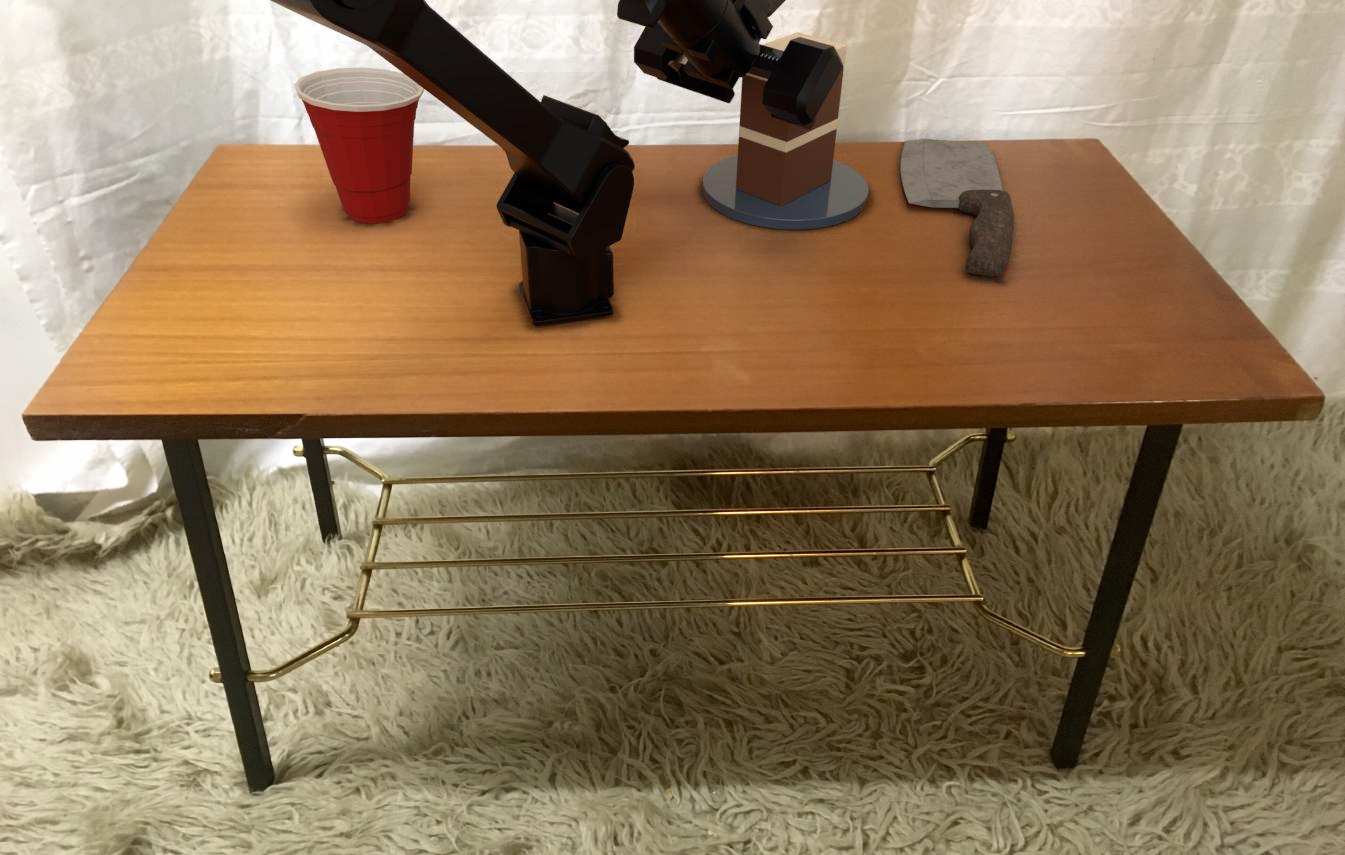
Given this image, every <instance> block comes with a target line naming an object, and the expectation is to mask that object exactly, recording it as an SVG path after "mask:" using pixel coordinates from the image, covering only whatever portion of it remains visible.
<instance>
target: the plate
mask: <svg viewBox="0 0 1345 855" xmlns="http://www.w3.org/2000/svg"><path fill="white" fill-rule="evenodd" d="M737 159H738V154H734V155H731V156H728V157H725V158H723V159H720V160H719V161H717V162H715V163H714V164H712V165H711V166H710V167H708V169H707V170H706V171H705V173H704V174H703V177H702V195H703V197H704V200H705V201H706V202H707V203H708V204H709V205H710V206H711V207H712V208H713V209H714V210H715V211H717V212H718V213H720V214H722V215H724V216H726V217H728V218H731V219H732V220H736V221H738V222H740V223H743V224H747V225H750V226H751V225H752V226H757V227H760V228H761V227H762V228H768V229H777V230H789V231H790V230H791V231H798V230H799V231H800V230H801V231H802V230H813V229H816V230H817V229H822V228H828V227H833V226H836V225H840V224H843V223H845V222H847V221H850V220H852V219H854V218H855V217H857V216H859V214H861V212H863V211H864V209H865V207H866V206H867V204H868V199H869V190H870V188H869V184H868V182H867V180H866V179H865V178H864V176H863V175H862V174H861V173H860V172H859V171H857V170H856V169H854V168H852V167H851V166H850V165H848V164H845V163H844V162H841V161H838V160H836V159H833V167H832V175H831V181H829V182H827V183H825V184H823V185H821V186H819V187H817V188H815V189H813V190H812V191H810V192H808V193H806V194H804V195H802V196H800V197H798V198H796V199H794V200H792V201H790V202H788V203H786V204H785V205H783V206H780V205H777V204H774V203H772V202H769V201H766V200H764V199H761V198H759V197H756V196H753V195H751V194H748V193H746V192H743V191H740V190H738V189H736V177H737Z"/></svg>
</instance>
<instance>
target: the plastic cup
mask: <svg viewBox="0 0 1345 855" xmlns="http://www.w3.org/2000/svg"><path fill="white" fill-rule="evenodd" d="M293 87H294V90H295V91H296V94H297V97H298V99H300V100H301V102H302V103H303V105H304V108H305V111H306V112H307V115H308V118H309V121H310V124H311V127H312V129H313V130H314V133H315V136H316V138H317V140H318V144H319V147H320V150H321V154H322V156H323V158H324V161H325V164H326V167H327V170H328V173H329V175H330V178H331V181H332V184H333V185H334V186H335V189H336V192H337V195H338V197H339V200H340V203H341V206H342V208H343V211H344V212H345V214H346V216H347V218H348V219H351V220H352V221H353V222H358V223H362V224H382V223H389V222H391V221H394V220H397V219H399V218H401V217H403V216H405V214H407V212H408V210H409V203H410V201H411V176H412V174H413V173H412V172H413V155H414V154H413V153H414V135H415V121H416V119H417V118H416V117H417V110H418V108H419V101H420V99H421V97H422V95H423V94H424V91H425V89H424V88H422V87H421V86H420V85H418V84H417V83H416V82H414V81H413V80H412V79H410V78H409V77H408V76H406V75H405V74H404V73H403V72H401V71H400V72H399V71H395V70H390V69H387V68H386V69H385V68H375V67H373V68H372V67H337V68H331V69H325V70H318V71H314V72H311V73H309V74H306V75H303V76H300V78H299V79H298V80H297V81H296V82H295V83H294V84H293Z"/></svg>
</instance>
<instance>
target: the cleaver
mask: <svg viewBox="0 0 1345 855" xmlns="http://www.w3.org/2000/svg"><path fill="white" fill-rule="evenodd" d="M899 161H900V162H899V163H900V164H899V171H900V172H899V173H900V180H901V184H902V188H903V191H904V194H905V197H906V200H907V202H908V204H911V205H917V206H921V207H928V208H938V209H939V208H942V209H958V210H959V211H960V212H961V213H964V214H968V215H972V216H975V219H974V220H973V221H972V223H971V224H970V226H969V227H970V228H969V232H968V233H969V234H968V236H969V242H970V245H971V246H972V249H971V250H970V252H969V254H967V258H966V262H965V270H966V272H968V273H971V274H973V275H981V276H990V277H995V276H996V277H997V276H1001V275H1002V274H1003V273H1004V272H1005V270H1006V269H1007V267H1008V264H1009V260H1010V256H1011V252H1012V248H1013V247H1012V246H1013V239H1014V238H1013V237H1014V225H1015V224H1014V223H1015V221H1014V220H1015V219H1014V217H1015V216H1014V208H1013V202H1012V199H1011V196H1010V194H1009V192H1008V191H1006V190H1004V187H1003V183H1002V180H1001V179H1002V178H1001V174H1000V171H999V167H998V163H997V160H996V157H995V155H994V153H993V151H992V149H991V148H990V145H989V144H988V142H977V141H963V140H962V141H961V140H946V139H933V138H932V139H931V138H920V139H911V140H905V141H904V144H903V146H902V150H901V154H900V160H899Z"/></svg>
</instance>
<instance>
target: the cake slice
mask: <svg viewBox="0 0 1345 855" xmlns="http://www.w3.org/2000/svg"><path fill="white" fill-rule="evenodd" d="M798 37H802V38H806V39H809V40H813V41H817V42H820V43H824V44H828V45H831V46H834V47H835V49H836V51H837V53H838V54H839V56H840V58H841V60H842V63H843V66H844V67H843V69H842V71H841V72H840V74H839V76H838V78H837V80H836V81H835V83H834V85H833V87H832V88H831V90H830V92H829V94H828V95H827V97H826V99H825V101H824V103H823V104H822V106H821V108H820V110H819V111H818V113H817V115H816V121H815V123H814V125H813V127H812V129H811V130H807V129H804V128H801V127H798V126H796V125H793V124H790V123H787V122H784V121H781V120H778V119H776V118H773V117H771V114H772V113H770V112H769V111H767V110H766V108H765V107H764V105H763V104H762V99H763V88H764V86H765V84H766V82H767V80H768V79H766V78H763V77H759V76H756V75H753V74H750V73H747V74H746V75H744V76H743V77H741V92H740V106H739V107H740V109H739V127H738V141H737V142H738V143H737V144H738V145H737V155H738V159H737V177H736V189H738V190H740V191H743V192H746V193H748V194H751V195H753V196H756V197H759V198H761V199H764V200H766V201H769V202H772V203H774V204H777V205H780V206H783V205H785V204H786V203H788V202H790V201H792V200H794V199H796V198H798V197H800V196H802V195H804V194H806V193H808V192H810V191H812V190H813V189H815V188H817V187H819V186H821V185H823V184H825V183H827V182H829V181H831V175H832V167H833V160H834V157H835V148H836V141H837V131H838V130H837V128H838V124H839V123H838V122H839V115H840V114H839V113H840V105H841V96H842V89H843V87H842V86H843V78H844V72H845V71H844V69H845V63H846V61H845V60H846V54H847V44H844V43H840V42H836V41H832V40H828V39H825V38H821V37H818V36H814V35H812V34H811V35H810V34H808V33H807V34H806V33H804V32H799V31H796V32H793V33H791V34H789V35H785V36H783V37H782V36H781V37H780V38H777V39H775V40H772V41H769V42H765V43H764V44H763V43H762V45H764V46H768V47H771V48H775V49H778V50H782V51H784V50H785V49H786V47H787V45H788V43H789V41H790V40H792V39H795V38H798Z"/></svg>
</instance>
